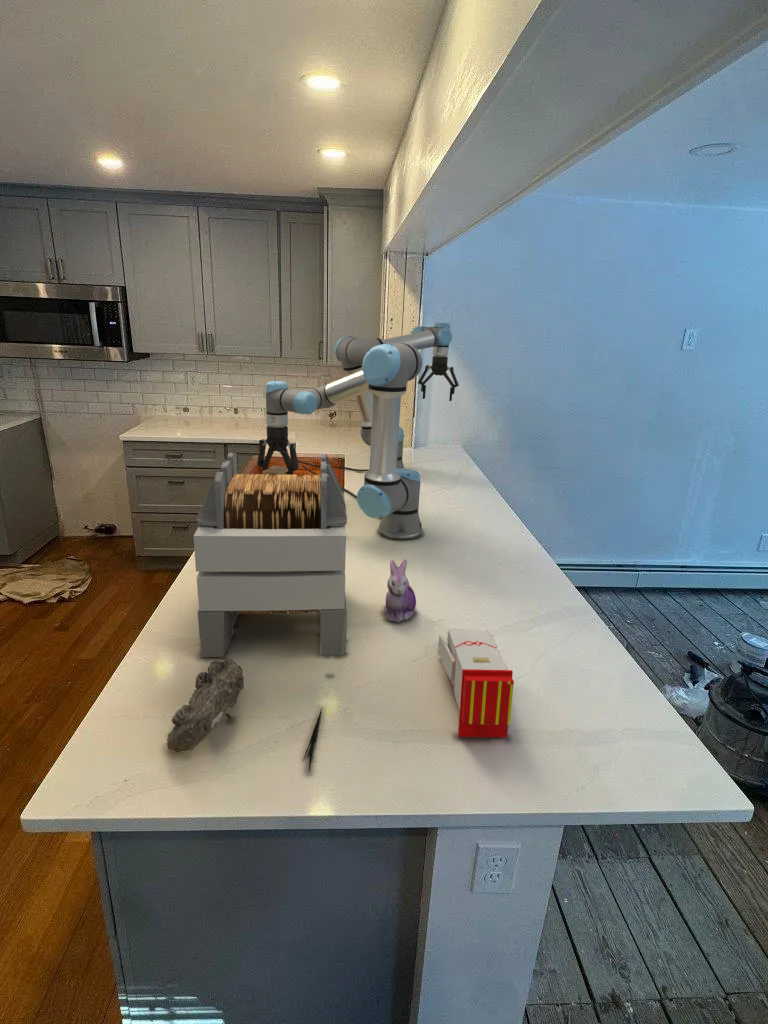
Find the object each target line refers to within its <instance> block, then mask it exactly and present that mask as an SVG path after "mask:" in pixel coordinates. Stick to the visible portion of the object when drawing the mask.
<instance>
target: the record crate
mask: <svg viewBox="0 0 768 1024" xmlns="http://www.w3.org/2000/svg"><path fill="white" fill-rule="evenodd" d="M320 466H321V467H320V474H318V475H314V474H313V476H312V475H311V474H303V475H302V474H300V475H299V474H294V475H284V474H283V475H282V474H281V475H280V474H277V475H275V476H274V475H273V477H272V475H271V476H270V475H269V474H266V475H264V474H262V473H256V474H255V473H251V474H249V473H246V474H244V473H238V462H237V452H234V453H233V452H227V455H226V457H225V460H223V461H222V464H221V466H220V468H219V470H218V471H216V473H215V475H214V477H213V479H212V482H211V484H210V487H209V489H208V491H207V493H206V494H205V497H204V500H203V503H202V505H201V507H200V509H199V511H198V513H197V516H196V524H197V528H196V530H195V532H194V534H193V548H194V549H193V551H194V560H195V561H194V563H195V572H196V573H197V572H198V574H197V575H196V590H197V602H198V609H197V622H198V635H199V636H198V637H199V641H200V657H201V658H204V659H205V658H206V659H208V658H210V657H211V658H223V657H224V655H225V654H226V650H227V648H228V646H229V644H230V641H231V639H232V637H233V634H234V625H235V624H236V622H237V619H238V615H240V614H241V615H242V614H245V615H248V614H249V615H252V614H253V615H254V614H255V615H256V614H288V613H289V614H301V613H302V614H305V613H306V614H309V613H311V614H312V613H313V614H314V613H317V614H318V613H319V634H320V635H319V647H320V648H319V651H320V652H319V654H320V655H321V656H324V655H327V656H330V655H336V656H342V655H344V654H346V653H347V620H348V619H347V618H348V617H347V614H348V610H347V597H346V556H347V555H346V551H347V531H346V525H347V524H348V511H347V505H346V498H345V491H344V490H343V489H342V487H343V486H342V484H341V483H340V481H339V478H338V477H337V475H336V472H335V470H334V468H332V467H333V466H332V463H331V461H330V458H329V457H328V455H327V453H320ZM320 476H321V478H320Z"/></svg>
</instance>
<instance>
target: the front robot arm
mask: <svg viewBox="0 0 768 1024" xmlns="http://www.w3.org/2000/svg"><path fill="white" fill-rule="evenodd" d="M422 368H423V357H422V354H421V353H420V351H419V350H417V349H416V348H415V347H414V346H412V345H410V344H406V343H401V344H382V345H378V346H375V347H373V348H371V349H370V350H369V351H368V352H367V354H366V355H365V357H364V359H363V364H362V370H359V371H357V372H355V373H352V374H350V375H349V374H347V375H345V376H343V377H341V378H338V379H335V380H333V381H331V382H329V383H326V384H324V385H322V386H319V387H315V388H307V389H300V390H299V389H290V388H289V387H288V383H287V382H285V381H283V380H270V381H267V382H266V383H265V392H264V394H265V410H266V411H265V416H266V417H265V420H266V422H265V423H266V425H267V426H266V439H264V438H262V439H259V440H258V444H259V449H258V456H257V464H256V465H257V466H258V467H260V468H262V471H264V470H266V469H268V468H270V467H271V466H269V465H270V463H271V459H272V457H273V455H274V453H275V452H277V453H280V455H281V457H282V459H283V461H284V464H285V467H287V469H288V471H287V472H286V475H295V474H294V473H295V471H297V470H299V468H300V467H299V462H298V461H299V460H298V455H297V443H296V442H291V441H290V440H289V427H288V425H289V412H291V413H295V414H300V415H312V414H313V413H314V412H315V411H317V410H322V409H323V410H324V409H329V408H333V407H335V406H336V405H337V404H339V403H342V402H344V401H347V400H349V399H353V398H356V397H355V396H357V395H360V394H363V393H365V392H368V391H370V392H371V393H372V394H373V409H372V430H371V446H370V454H369V455H370V456H369V457H370V458H369V469H368V470H369V471H365V473H364V477H363V478H364V479H363V480H364V481H363V485H362V486H361V487H360V488H359V489H358V491H357V494H354V492H352V491H350V490H348V489H346V488H345V487H343V486H341V487H342V489H343V491H344V492H347V494H349V495H351V496H352V497H354V498H355V499H356V501H357V505H358V507H359V509H360V510H361V511H362V512H363V514H364V515H366V516H367V517H368V518H370V519H371V518H372V519H380V520H381V522H379V525H378V533H379V534H380V535H381V536H382V537H385V538H387V539H389V540H395V541H410V540H415V539H418V538H420V537H421V536H422V535H423V523H421V518H420V515H419V507H420V506H419V505H420V496H421V495H420V494H421V493H420V492H421V483H422V481H421V473H420V472H419V471H417V470H415V469H411V468H406V467H404V468H396V467H397V451H398V436H399V427H400V417H401V405H402V403H401V402H402V397H403V395H404V394H406V392H407V388H408V382H409V381H412V380H414V379H416V378H417V377H418V375H419V374H420V372H421V371H422ZM267 446H268V449H267V453H266V448H267ZM287 447H288V448H287ZM288 449H289V451H288ZM290 459H291V460H290ZM297 460H298V461H297ZM301 467H302V468H303V469H304V470H306V471H308V472H309V473H311V474H312V475H313V476H314V475H319V474H318V473H316V472H314V471H312V470H311V469H309V468H308V467H307V466H305V465H304V464H303V465H301ZM320 478H321V475H320Z"/></svg>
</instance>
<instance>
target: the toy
mask: <svg viewBox="0 0 768 1024" xmlns="http://www.w3.org/2000/svg"><path fill="white" fill-rule="evenodd" d="M446 640H447V643H446V641H445V639H444V636H443V635H442V634H439V637H438V646H437V656H438V657H439V659H440V661H441V663H442V666H443V668H444V670H445V672H446V674H447V677H448V679H449V681H450V684H451V687H452V690H453V693H454V697H455V701H456V705H457V708H458V711H459V714H458V715H459V716H458V730H457V731H458V732H457V737H458V738H508V731H509V726H510V725H511V717H512V707H513V697H514V696H513V695H514V684H515V680H514V679H513V673H514V671H513V670H512V669H508V667H507V665H506V662H505V661H504V659H503V658H502V655H501V653H500V651H499V649H498V647H497V643H496V639H495V637H494V635H493V634H491V632H490V631H489V629H467V628H466V629H465V628H463V629H461V628H460V629H459V628H448V630H447V639H446Z"/></svg>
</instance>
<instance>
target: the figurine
mask: <svg viewBox="0 0 768 1024" xmlns="http://www.w3.org/2000/svg"><path fill="white" fill-rule="evenodd" d="M407 567H408V559H406V558H404V559H403V560H402V561H401V563H400V565H399V566H398V565H397V563H396V562H395V561H394V560H393V559H391V560H390V561H389V570H390V576H389V578H388V579H387V589H388V591H387V592H386V594H385V595H386V596H385V607H384V615H385V616H386V620H387V621H391V622H395V623H400V622H402V621H406V620H409V619H410V618H411V617H413V616H414V615H415V610H416V606H417V597H416V593H415V591H414V590H413V587H411V586H410V582H409V579H408V577H407V574H406V571H407Z"/></svg>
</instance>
